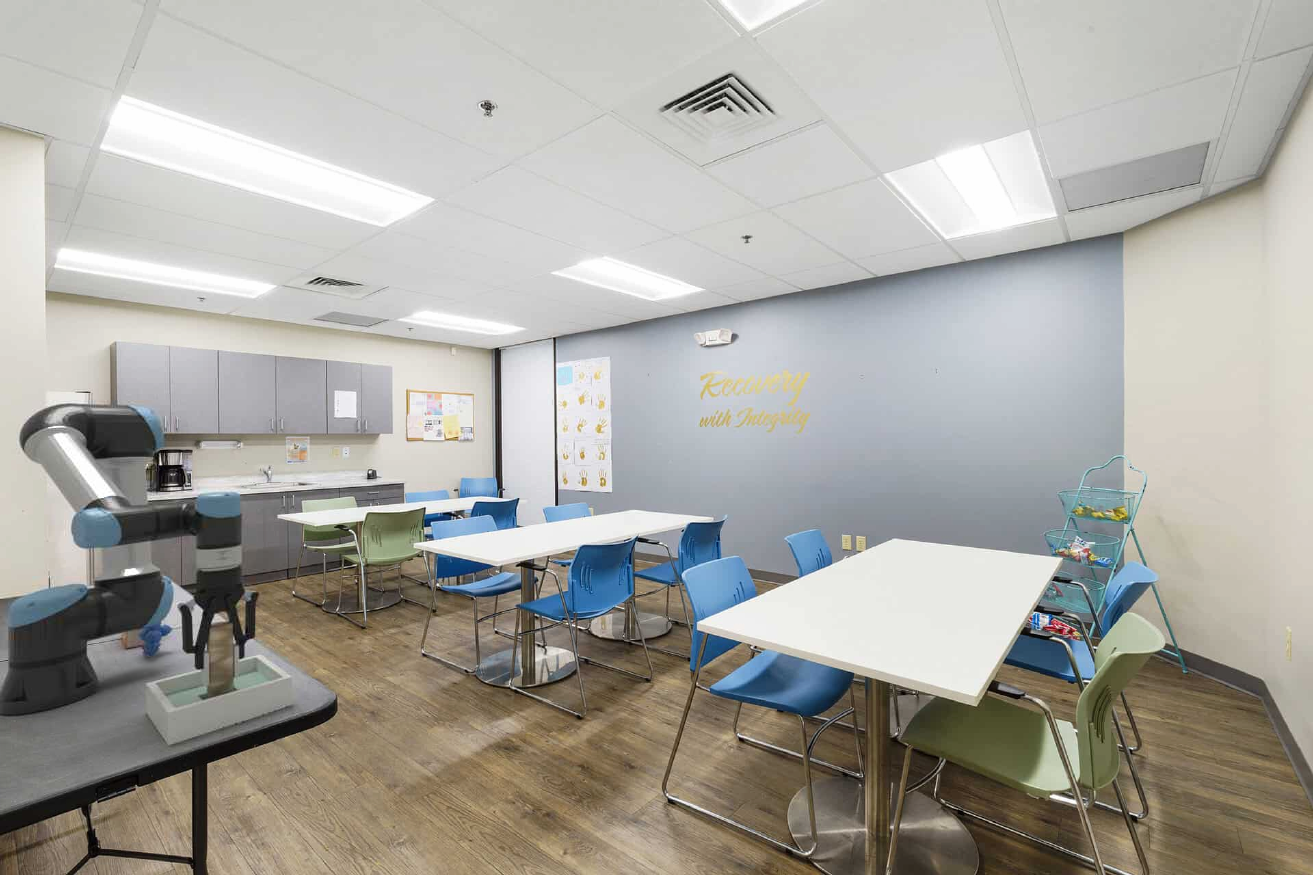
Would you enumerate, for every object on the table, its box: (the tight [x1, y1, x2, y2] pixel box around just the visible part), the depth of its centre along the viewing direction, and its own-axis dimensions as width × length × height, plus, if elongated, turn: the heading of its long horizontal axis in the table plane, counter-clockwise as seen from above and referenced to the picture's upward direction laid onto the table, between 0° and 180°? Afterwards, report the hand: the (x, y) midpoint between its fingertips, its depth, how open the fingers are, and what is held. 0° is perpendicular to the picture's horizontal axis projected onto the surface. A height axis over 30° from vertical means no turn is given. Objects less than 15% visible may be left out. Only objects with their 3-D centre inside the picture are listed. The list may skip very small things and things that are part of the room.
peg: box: [206, 620, 234, 697], centre depth 118 cm, size 4×4×14 cm
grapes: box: [138, 621, 173, 657], centre depth 148 cm, size 12×7×12 cm, turn 47°
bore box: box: [145, 654, 293, 746], centre depth 118 cm, size 20×20×6 cm
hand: (220, 679), depth 118 cm, fingers closed on peg, 4 cm apart
